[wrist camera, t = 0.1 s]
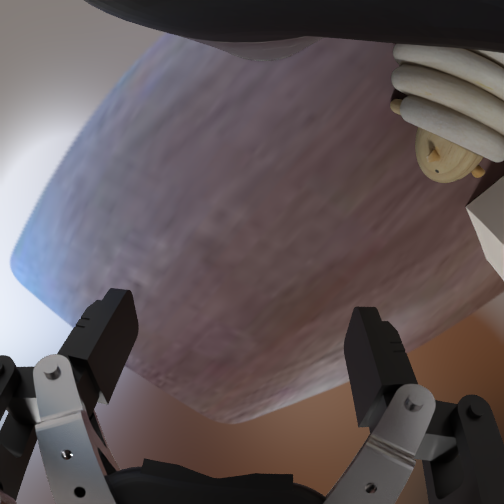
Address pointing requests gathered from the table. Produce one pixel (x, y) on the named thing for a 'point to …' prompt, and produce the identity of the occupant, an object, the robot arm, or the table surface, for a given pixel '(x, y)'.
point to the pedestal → (490, 223)
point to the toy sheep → (451, 107)
